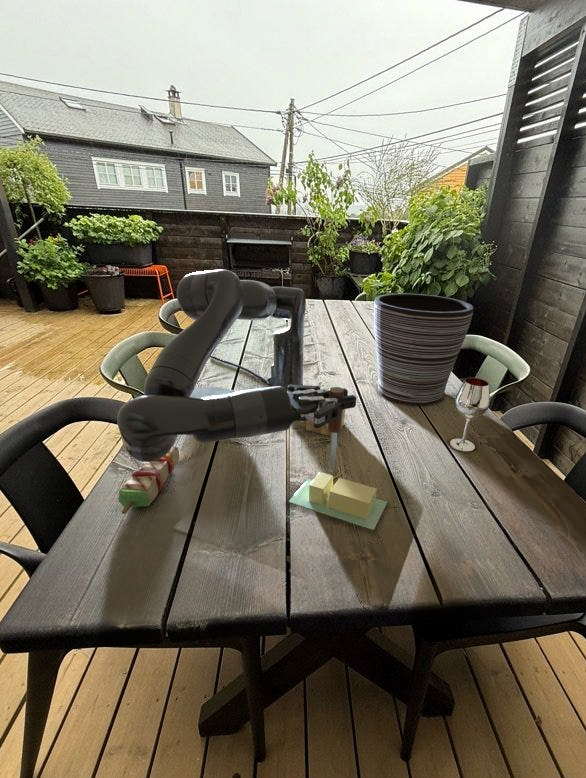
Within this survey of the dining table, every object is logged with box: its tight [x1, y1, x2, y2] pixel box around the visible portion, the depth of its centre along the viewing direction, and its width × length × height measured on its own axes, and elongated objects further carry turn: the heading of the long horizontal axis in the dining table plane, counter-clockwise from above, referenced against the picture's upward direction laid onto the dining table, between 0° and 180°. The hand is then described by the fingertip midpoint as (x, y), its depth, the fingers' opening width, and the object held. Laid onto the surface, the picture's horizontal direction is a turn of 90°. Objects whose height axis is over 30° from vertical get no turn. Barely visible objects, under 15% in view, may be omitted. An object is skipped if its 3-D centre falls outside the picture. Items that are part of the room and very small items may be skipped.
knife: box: [327, 386, 344, 474], centre depth 74 cm, size 3×3×17 cm
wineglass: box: [449, 377, 491, 453], centre depth 101 cm, size 8×8×18 cm
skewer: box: [118, 445, 180, 515], centre depth 81 cm, size 21×6×5 cm, turn 178°
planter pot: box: [373, 293, 475, 406], centre depth 129 cm, size 30×30×30 cm
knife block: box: [305, 404, 346, 437], centre depth 108 cm, size 8×8×7 cm
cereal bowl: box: [190, 386, 236, 398], centre depth 108 cm, size 17×17×7 cm
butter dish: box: [288, 477, 388, 531], centre depth 79 cm, size 18×9×5 cm, turn 67°
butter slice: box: [309, 471, 334, 505], centre depth 81 cm, size 3×5×4 cm, turn 157°
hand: (350, 397), depth 72 cm, fingers closed on knife, 2 cm apart
